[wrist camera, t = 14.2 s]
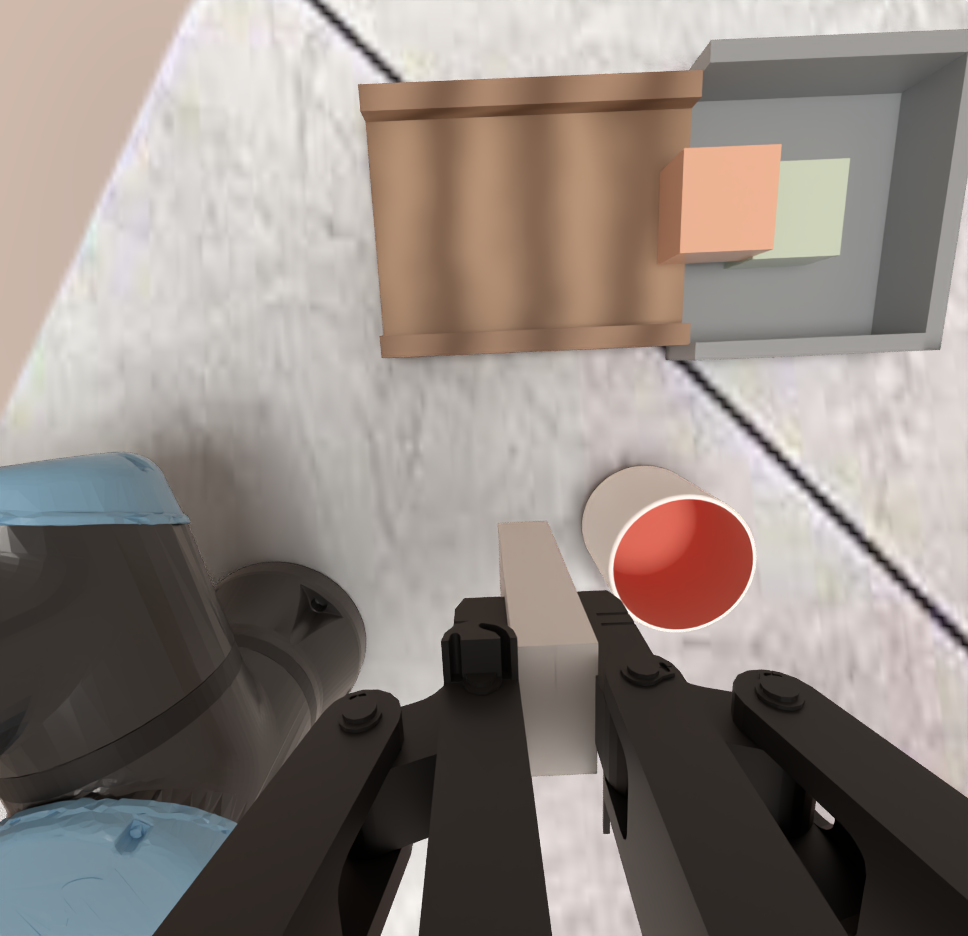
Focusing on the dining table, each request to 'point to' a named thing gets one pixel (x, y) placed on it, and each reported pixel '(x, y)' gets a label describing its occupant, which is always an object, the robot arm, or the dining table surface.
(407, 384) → the dining table surface
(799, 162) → the tile
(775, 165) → the tile
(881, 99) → the box
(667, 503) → the cup
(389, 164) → the wooden tray
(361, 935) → the robot arm
